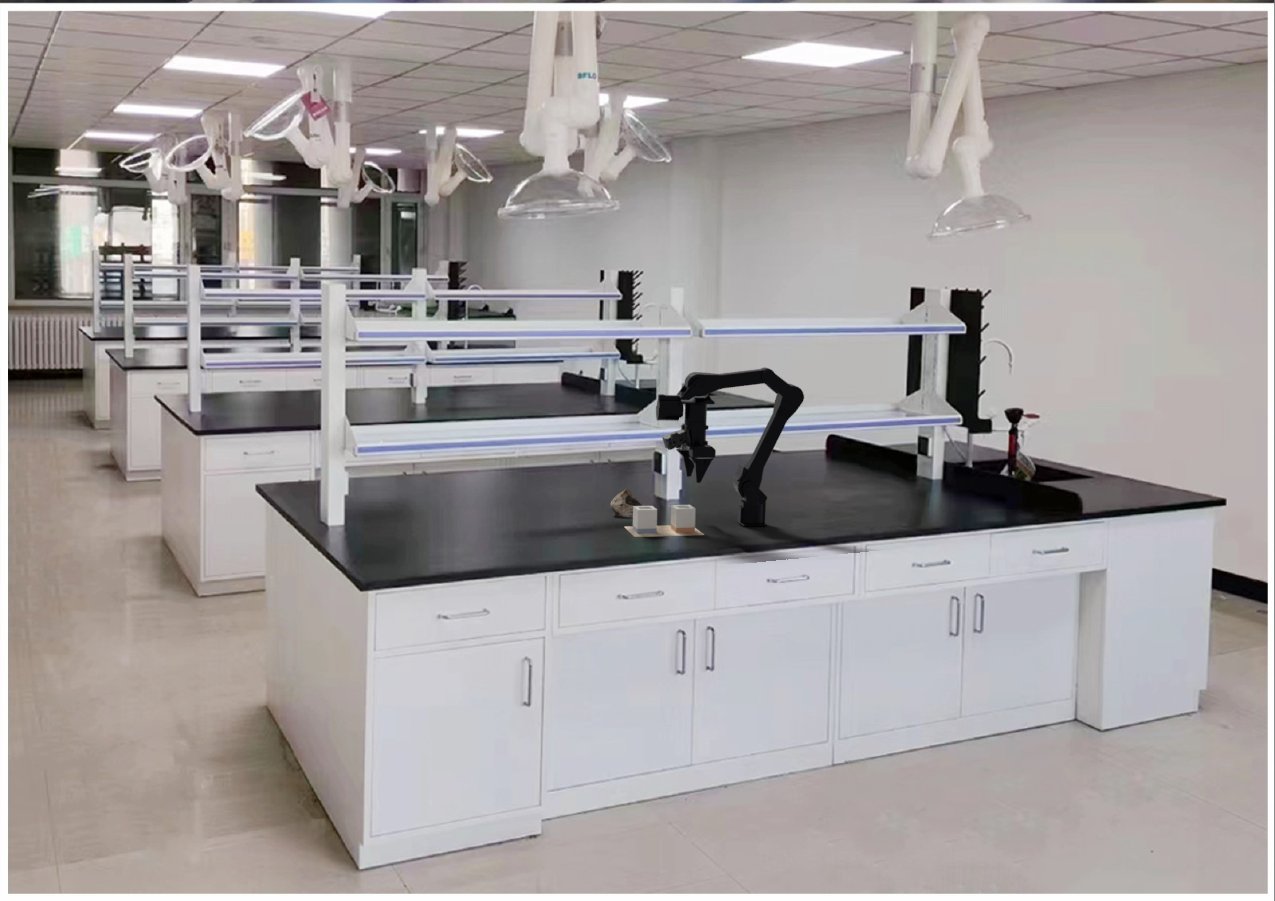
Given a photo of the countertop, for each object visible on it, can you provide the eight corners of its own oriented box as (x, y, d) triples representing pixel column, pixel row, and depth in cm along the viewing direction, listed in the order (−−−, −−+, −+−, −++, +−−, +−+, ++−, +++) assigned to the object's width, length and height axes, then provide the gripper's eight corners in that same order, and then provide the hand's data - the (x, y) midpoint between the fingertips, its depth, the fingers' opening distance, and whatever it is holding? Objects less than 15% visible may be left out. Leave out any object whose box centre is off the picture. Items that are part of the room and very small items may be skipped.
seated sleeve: (651, 528, 325) (652, 505, 324) (656, 533, 320) (657, 509, 319) (632, 529, 324) (633, 506, 323) (637, 533, 319) (637, 510, 318)
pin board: (691, 529, 331) (691, 513, 330) (704, 539, 319) (704, 523, 319) (623, 531, 327) (624, 515, 326) (634, 541, 315) (634, 525, 315)
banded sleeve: (689, 527, 327) (690, 504, 326) (694, 531, 322) (695, 508, 321) (670, 528, 326) (671, 505, 325) (675, 532, 321) (676, 509, 320)
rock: (647, 509, 348) (618, 487, 346) (657, 503, 341) (628, 480, 340) (630, 534, 344) (601, 511, 342) (640, 528, 337) (611, 505, 336)
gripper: (656, 416, 340) (655, 473, 342) (675, 426, 322) (673, 486, 324) (696, 416, 343) (694, 473, 345) (717, 425, 325) (715, 485, 327)
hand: (693, 479), depth 335 cm, fingers open, 9 cm apart
